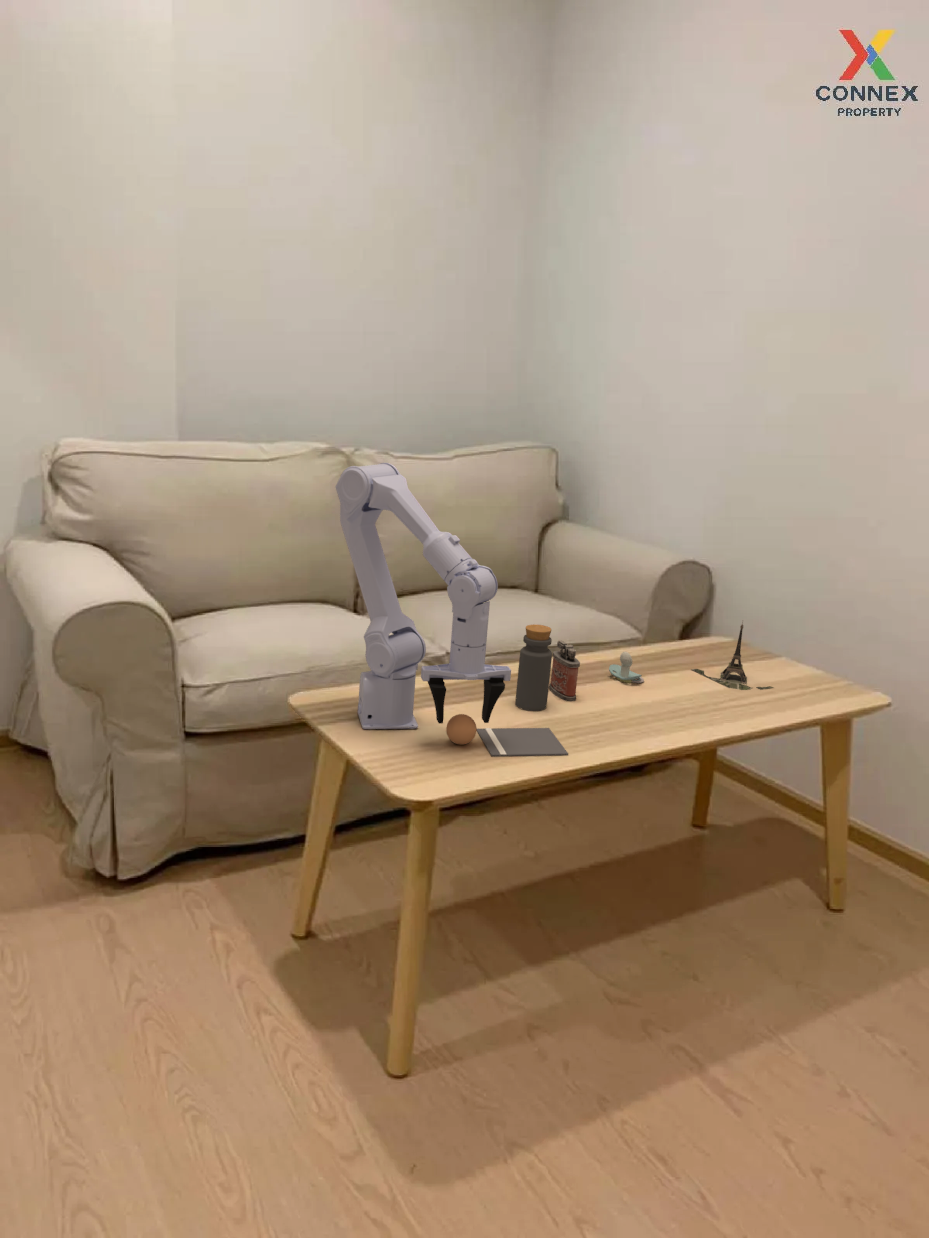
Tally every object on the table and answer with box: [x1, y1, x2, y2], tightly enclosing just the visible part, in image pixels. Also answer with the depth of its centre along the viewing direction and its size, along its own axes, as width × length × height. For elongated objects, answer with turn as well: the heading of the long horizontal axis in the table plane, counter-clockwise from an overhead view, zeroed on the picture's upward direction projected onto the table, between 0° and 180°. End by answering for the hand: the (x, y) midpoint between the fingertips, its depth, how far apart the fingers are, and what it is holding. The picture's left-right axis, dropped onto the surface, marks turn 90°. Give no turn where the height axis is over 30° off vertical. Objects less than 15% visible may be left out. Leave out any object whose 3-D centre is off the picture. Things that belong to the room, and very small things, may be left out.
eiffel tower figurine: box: [690, 621, 774, 691], centre depth 211 cm, size 15×10×13 cm
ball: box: [445, 713, 478, 746], centre depth 168 cm, size 5×5×5 cm
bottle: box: [514, 623, 553, 712], centre depth 186 cm, size 6×6×15 cm
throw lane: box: [476, 727, 569, 757], centre depth 171 cm, size 13×11×1 cm
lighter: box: [548, 639, 581, 702], centre depth 194 cm, size 8×3×10 cm, turn 22°
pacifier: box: [608, 651, 645, 684], centre depth 206 cm, size 7×6×6 cm
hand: (462, 720), depth 167 cm, fingers open, 7 cm apart
